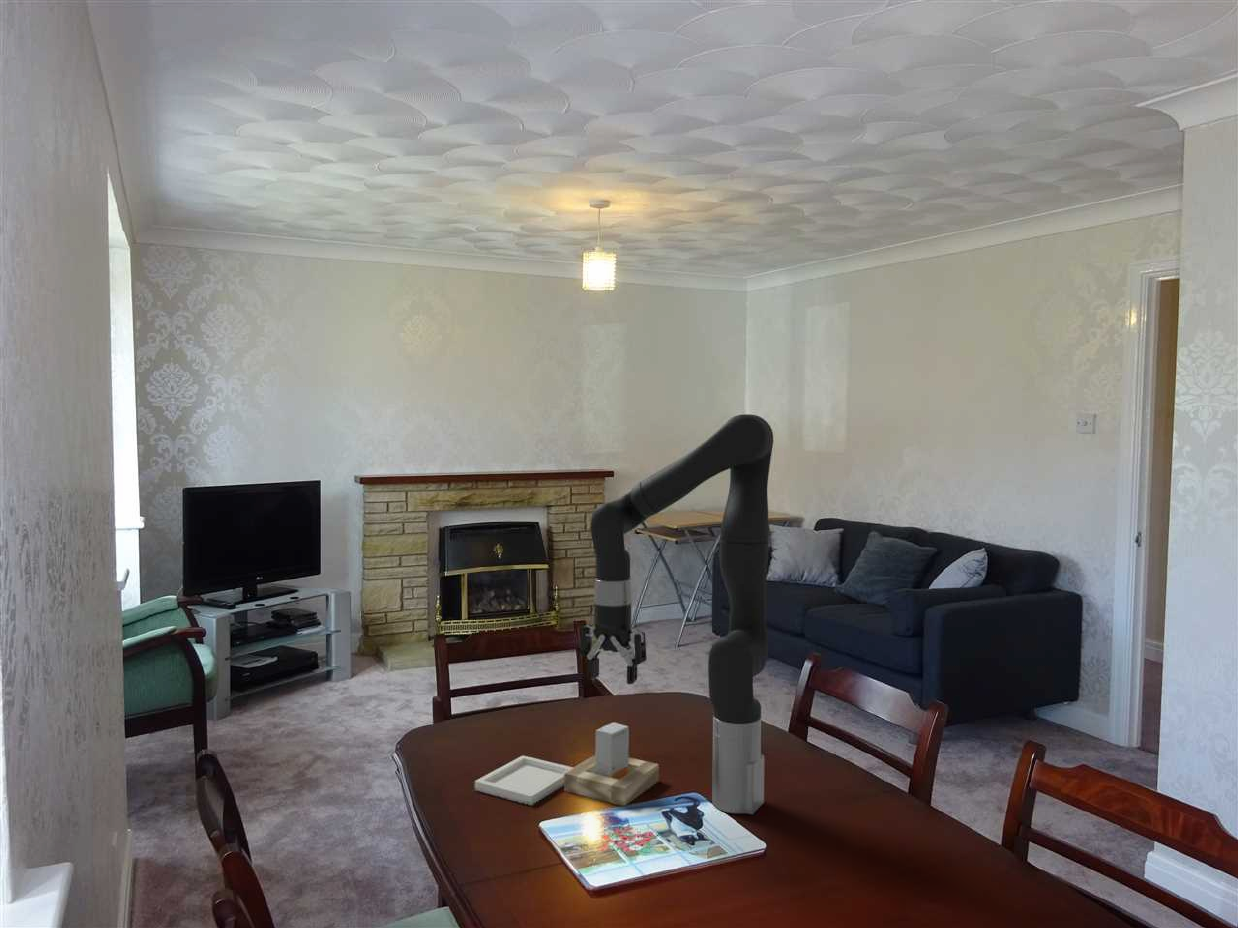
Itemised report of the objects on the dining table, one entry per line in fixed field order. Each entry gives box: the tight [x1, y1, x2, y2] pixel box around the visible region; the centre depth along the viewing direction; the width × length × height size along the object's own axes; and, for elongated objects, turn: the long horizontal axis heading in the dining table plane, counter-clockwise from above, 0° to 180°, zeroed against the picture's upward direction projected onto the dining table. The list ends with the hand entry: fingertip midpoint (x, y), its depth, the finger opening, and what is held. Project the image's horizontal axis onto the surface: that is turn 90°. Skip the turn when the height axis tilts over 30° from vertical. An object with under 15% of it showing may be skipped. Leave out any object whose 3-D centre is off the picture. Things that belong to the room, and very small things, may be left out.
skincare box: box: [594, 722, 630, 780], centre depth 177 cm, size 6×4×12 cm
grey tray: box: [474, 755, 574, 806], centre depth 178 cm, size 14×16×2 cm
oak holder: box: [563, 754, 660, 807], centre depth 177 cm, size 14×14×4 cm
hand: (612, 680), depth 177 cm, fingers open, 8 cm apart
